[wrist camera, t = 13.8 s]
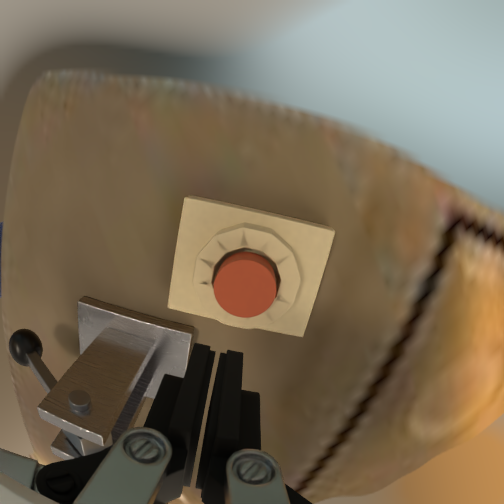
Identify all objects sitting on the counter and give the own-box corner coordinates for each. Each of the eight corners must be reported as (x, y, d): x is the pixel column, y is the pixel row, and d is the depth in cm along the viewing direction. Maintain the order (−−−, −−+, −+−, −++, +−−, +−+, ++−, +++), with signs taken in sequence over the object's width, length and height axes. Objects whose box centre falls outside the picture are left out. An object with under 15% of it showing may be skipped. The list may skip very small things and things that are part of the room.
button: (212, 298, 20) (208, 310, 18) (223, 245, 19) (219, 253, 17) (267, 311, 20) (268, 323, 18) (281, 258, 19) (283, 267, 17)
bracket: (87, 367, 26) (26, 448, 14) (84, 295, 24) (-3, 369, 12) (183, 398, 26) (151, 501, 15) (194, 326, 24) (151, 437, 13)
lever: (36, 348, 22) (8, 356, 20) (32, 318, 22) (2, 326, 19) (118, 446, 16) (81, 465, 14) (115, 417, 15) (73, 437, 13)
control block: (173, 298, 23) (160, 319, 20) (190, 194, 21) (177, 199, 18) (300, 326, 24) (305, 350, 20) (330, 226, 22) (342, 237, 18)
